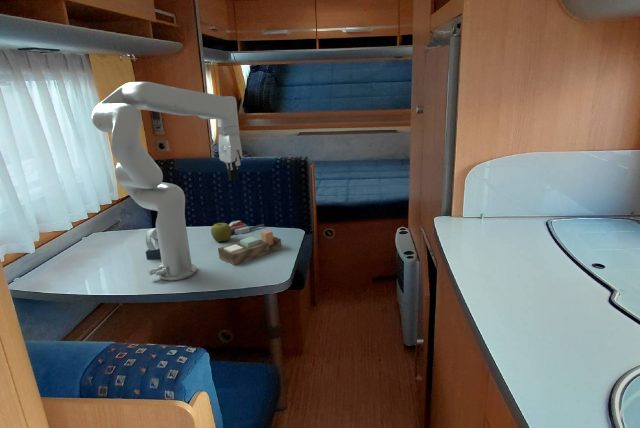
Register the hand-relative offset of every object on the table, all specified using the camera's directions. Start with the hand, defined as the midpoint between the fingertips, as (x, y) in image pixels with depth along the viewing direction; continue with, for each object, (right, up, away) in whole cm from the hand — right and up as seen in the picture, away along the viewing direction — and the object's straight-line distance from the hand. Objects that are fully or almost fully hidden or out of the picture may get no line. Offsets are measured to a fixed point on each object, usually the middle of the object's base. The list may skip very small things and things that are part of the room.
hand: (233, 179), depth 178 cm
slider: (+13, -25, -1) cm, 28 cm away
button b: (+7, -25, -4) cm, 27 cm away
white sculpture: (-29, -30, -1) cm, 41 cm away
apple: (-7, -24, +12) cm, 28 cm away
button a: (+2, -28, -8) cm, 29 cm away
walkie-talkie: (-1, -21, +23) cm, 31 cm away
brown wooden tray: (+7, -28, -3) cm, 29 cm away
